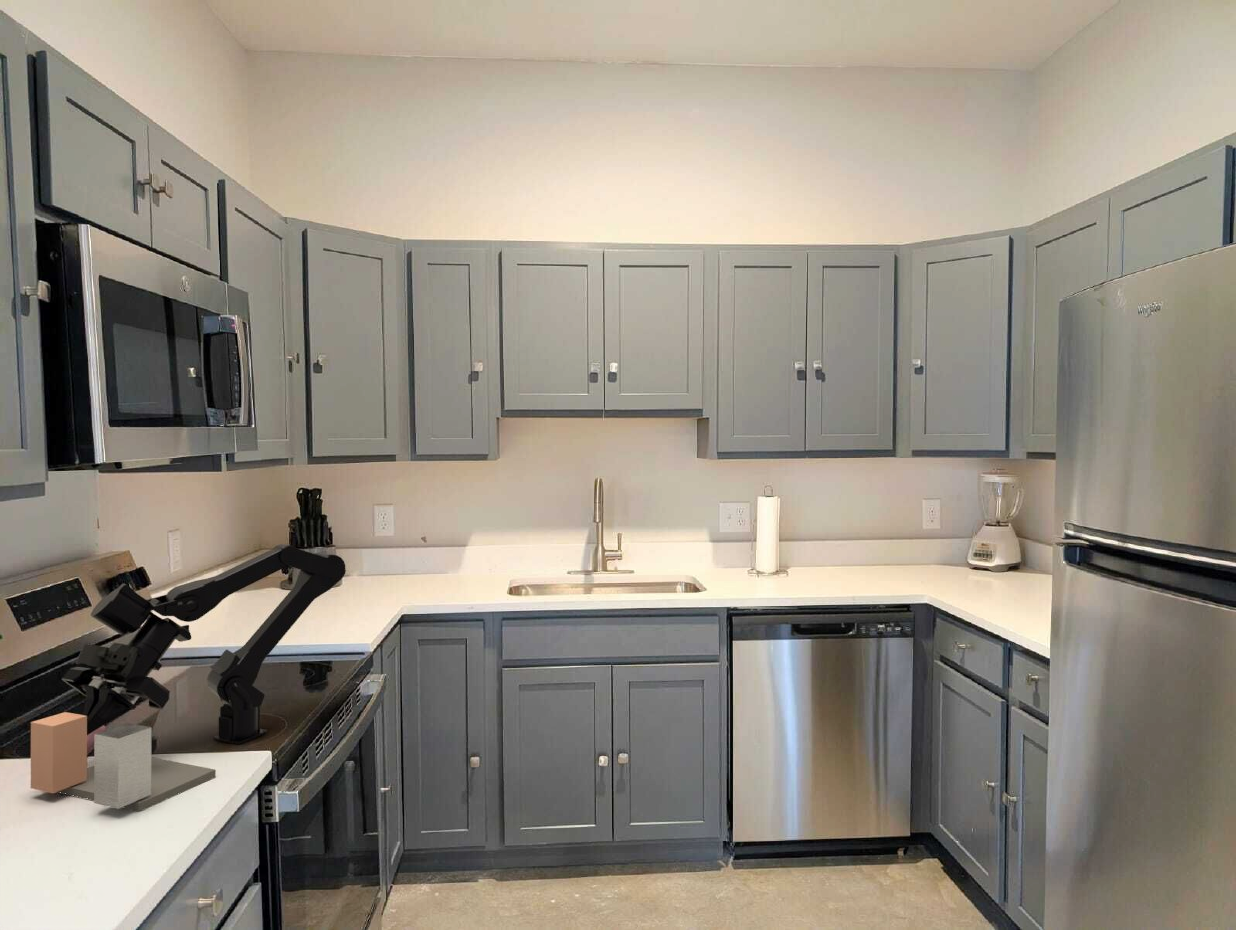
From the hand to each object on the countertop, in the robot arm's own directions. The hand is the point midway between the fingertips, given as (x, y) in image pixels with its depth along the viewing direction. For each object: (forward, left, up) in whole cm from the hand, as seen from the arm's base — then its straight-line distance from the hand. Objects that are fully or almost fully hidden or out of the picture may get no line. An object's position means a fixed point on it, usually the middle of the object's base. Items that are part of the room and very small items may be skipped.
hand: (78, 736), depth 118 cm
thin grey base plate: (-4, +7, -8) cm, 11 cm away
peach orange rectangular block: (+3, 0, -6) cm, 7 cm away
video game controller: (-9, -16, -8) cm, 20 cm away
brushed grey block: (+3, +14, -6) cm, 16 cm away
